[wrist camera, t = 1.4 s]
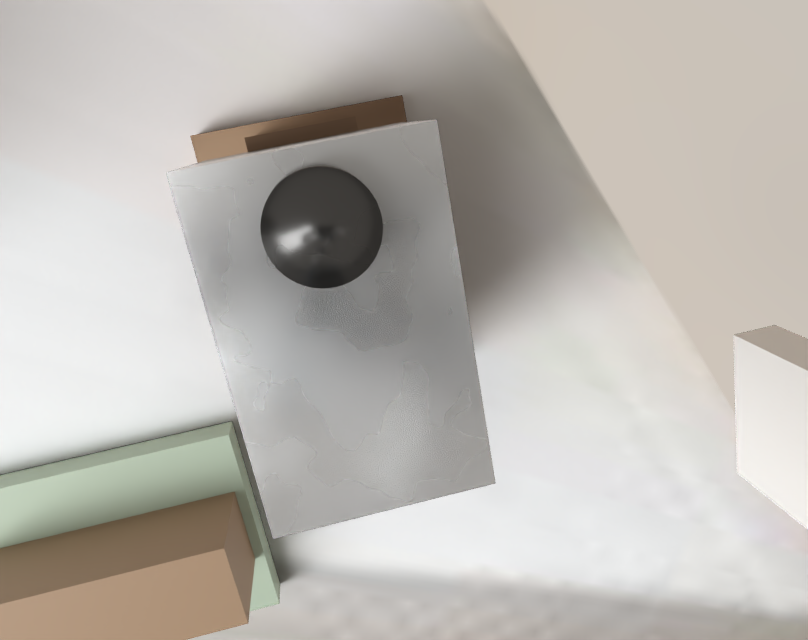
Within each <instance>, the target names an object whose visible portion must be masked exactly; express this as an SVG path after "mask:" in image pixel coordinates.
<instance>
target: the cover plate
mask: <svg viewBox="0 0 808 640" xmlns="http://www.w3.org/2000/svg"><path fill="white" fill-rule="evenodd" d="M166 175H167V179H168V182H169V186H170V189H171V193H172V196H173V199H174V203H175V206H176V210H177V213H178V216H179V220H180V223H181V227H182V230H183V234H184V237H185V240H186V244H187V247H188V251H189V254H190V257H191V261H192V264H193V268H194V271H195V275H196V278H197V281H198V285H199V288H200V292H201V295H202V298H203V302H204V305H205V309H206V312H207V315H208V319H209V322H210V326H211V329H212V333H213V336H214V339H215V343H216V346H217V350H218V353H219V356H220V360H221V363H222V367H223V370H224V374H225V377H226V380H227V384H228V387H229V391H230V394H231V397H232V401H233V404H234V408H235V411H236V414H237V418H238V421H239V425H240V428H241V432H242V435H243V438H244V442H245V445H246V449H247V452H248V455H249V459H250V462H251V466H252V469H253V473H254V476H255V479H256V483H257V486H258V490H259V493H260V496H261V500H262V503H263V507H264V510H265V513H266V517H267V520H268V524H269V527H270V531H271V534H272V537H273V539H275V538H279V537H283V536H287V535H291V534H295V533H299V532H303V531H307V530H311V529H315V528H319V527H323V526H327V525H331V524H335V523H339V522H343V521H347V520H351V519H355V518H359V517H363V516H367V515H371V514H375V513H379V512H383V511H387V510H391V509H395V508H399V507H403V506H407V505H411V504H415V503H419V502H423V501H427V500H431V499H435V498H439V497H443V496H447V495H451V494H455V493H459V492H463V491H467V490H471V489H475V488H479V487H483V486H487V485H491V484H495V477H494V471H493V465H492V458H491V452H490V446H489V440H488V434H487V427H486V421H485V415H484V409H483V402H482V396H481V390H480V384H479V378H478V371H477V365H476V359H475V353H474V347H473V340H472V334H471V328H470V322H469V315H468V309H467V303H466V297H465V291H464V284H463V278H462V272H461V266H460V260H459V253H458V247H457V241H456V235H455V229H454V222H453V216H452V210H451V204H450V197H449V191H448V185H447V179H446V173H445V166H444V160H443V154H442V148H441V142H440V135H439V129H438V123H437V120H425V121H414V122H409V123H404V124H398V125H393V126H388V127H383V128H378V129H373V130H368V131H363V132H358V133H353V134H347V135H342V136H337V137H332V138H327V139H322V140H317V141H312V142H307V143H301V144H296V145H291V146H286V147H281V148H276V149H271V150H266V151H261V152H255V153H250V154H245V155H240V156H235V157H230V158H225V159H220V160H215V161H210V162H204V163H199V164H194V165H189V166H186V167H183V168H179V169H176V170H173V171H170V172H166Z"/></svg>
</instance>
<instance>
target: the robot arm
mask: <svg viewBox="0 0 808 640" xmlns="http://www.w3.org/2000/svg"><path fill="white" fill-rule="evenodd" d="M734 370H735V371H734V372H735V373H734V374H735V414H736V454H737V474H739V475H740V476H741V477H742V478H744V479H745V480H746V481H747V482H749V483H750V484H751V485H752V486H754V487H755V488H756V489H757V490H759V491H760V492H761V493H762V494H764V495H765V496H766V497H767V498H769V499H770V500H771V501H772V502H774V503H775V504H776V505H777V506H779V507H780V508H781V509H782V510H784V511H785V512H786V513H787V514H789V515H790V516H791V517H792V518H794V519H795V520H796V521H797V522H798V523H800V524H801V525H802V526H803V527H805V528H806V529H807V530H808V339H807V338H805V337H802V336H800V335H797V334H795V333H792V332H790V331H788V330H786V329H783V328H781V327H778V326H776V325H772V326H768V327H764V328H760V329H756V330H752V331H747V332H743V333H739V334H735V335H734Z"/></svg>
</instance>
